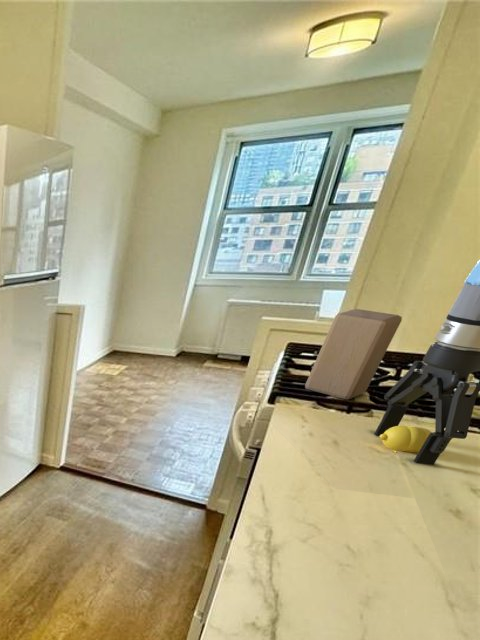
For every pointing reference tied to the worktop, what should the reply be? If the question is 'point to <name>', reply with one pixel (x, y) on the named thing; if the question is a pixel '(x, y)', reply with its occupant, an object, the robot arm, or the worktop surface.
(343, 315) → the block
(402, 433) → the lemon
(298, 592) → the worktop surface
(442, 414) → the robot arm
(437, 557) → the worktop surface
